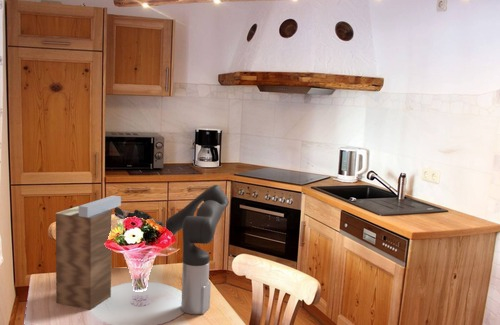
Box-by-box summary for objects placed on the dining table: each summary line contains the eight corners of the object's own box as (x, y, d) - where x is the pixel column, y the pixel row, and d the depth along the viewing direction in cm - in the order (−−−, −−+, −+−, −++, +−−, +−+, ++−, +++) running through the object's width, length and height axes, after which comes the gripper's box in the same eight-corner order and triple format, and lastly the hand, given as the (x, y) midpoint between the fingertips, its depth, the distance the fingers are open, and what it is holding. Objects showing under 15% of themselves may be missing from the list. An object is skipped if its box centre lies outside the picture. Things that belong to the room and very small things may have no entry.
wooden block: (110, 296, 176) (111, 210, 172) (90, 309, 165) (90, 217, 160) (78, 290, 180) (78, 206, 176) (56, 302, 169) (55, 213, 164)
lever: (120, 205, 180) (120, 196, 179) (87, 217, 161) (87, 207, 160) (112, 204, 181) (112, 195, 180) (78, 216, 162) (78, 206, 161)
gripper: (156, 233, 197) (138, 222, 183) (125, 229, 202) (106, 217, 187) (161, 216, 200) (144, 203, 186) (130, 212, 204) (112, 199, 190)
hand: (125, 210), depth 187 cm, fingers open, 8 cm apart
